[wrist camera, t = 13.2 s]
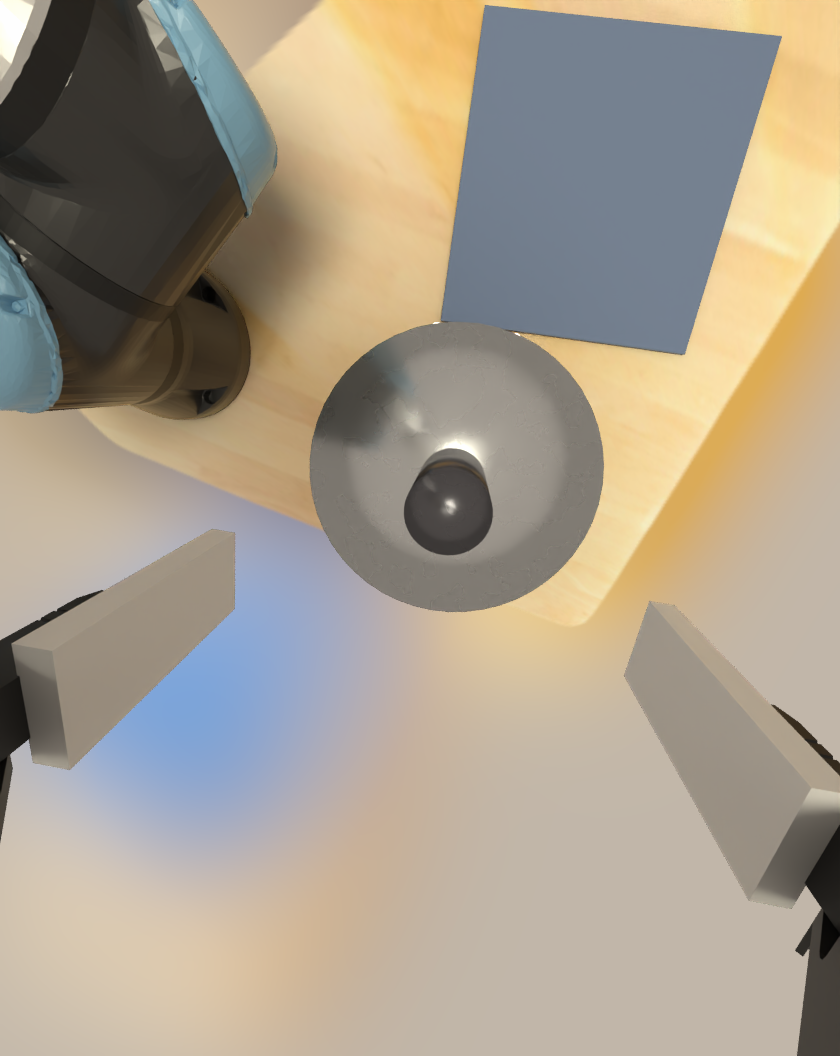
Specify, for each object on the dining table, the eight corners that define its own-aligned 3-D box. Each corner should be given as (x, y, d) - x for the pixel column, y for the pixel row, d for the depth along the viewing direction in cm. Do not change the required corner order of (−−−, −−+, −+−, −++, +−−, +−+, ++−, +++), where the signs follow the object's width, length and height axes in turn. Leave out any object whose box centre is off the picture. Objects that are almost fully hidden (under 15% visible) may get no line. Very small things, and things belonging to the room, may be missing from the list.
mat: (441, 321, 43) (440, 320, 42) (484, 11, 36) (484, 5, 35) (681, 354, 42) (684, 354, 41) (776, 42, 35) (781, 36, 34)
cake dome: (344, 535, 51) (254, 647, 29) (363, 327, 44) (262, 267, 22) (536, 566, 50) (593, 708, 28) (586, 358, 43) (715, 328, 21)
